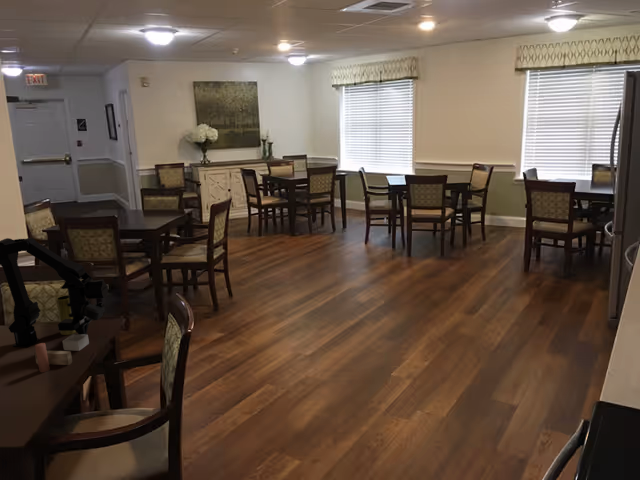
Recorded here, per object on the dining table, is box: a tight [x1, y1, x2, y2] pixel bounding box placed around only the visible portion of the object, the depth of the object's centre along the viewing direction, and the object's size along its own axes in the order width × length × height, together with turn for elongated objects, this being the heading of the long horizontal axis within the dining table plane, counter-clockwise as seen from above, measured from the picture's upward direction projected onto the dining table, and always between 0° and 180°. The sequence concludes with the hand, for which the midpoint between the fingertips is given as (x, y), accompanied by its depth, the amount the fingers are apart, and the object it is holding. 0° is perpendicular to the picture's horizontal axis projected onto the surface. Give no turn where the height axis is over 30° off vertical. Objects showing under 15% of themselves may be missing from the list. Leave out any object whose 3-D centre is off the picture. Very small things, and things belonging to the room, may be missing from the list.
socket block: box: [62, 333, 90, 352], centre depth 186 cm, size 6×6×4 cm
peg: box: [34, 342, 51, 373], centre depth 168 cm, size 3×3×9 cm
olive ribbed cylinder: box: [55, 294, 77, 336], centre depth 198 cm, size 6×6×14 cm
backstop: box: [34, 350, 73, 366], centre depth 174 cm, size 12×2×4 cm, turn 81°
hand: (84, 338), depth 190 cm, fingers closed
